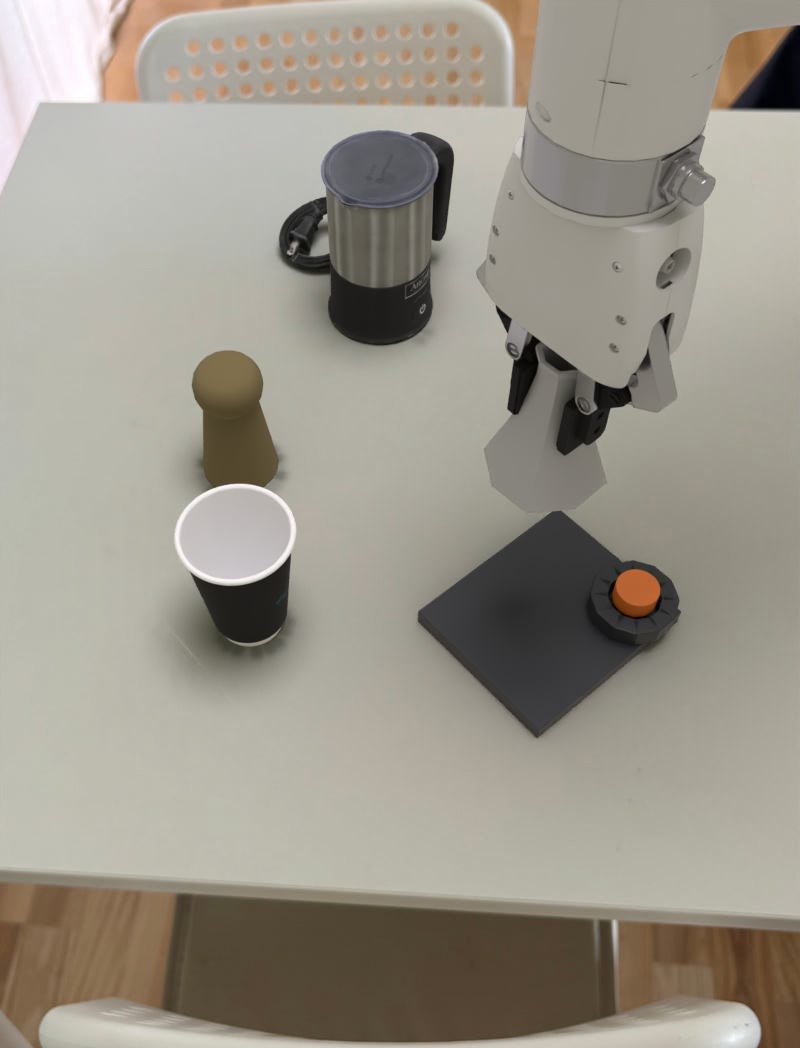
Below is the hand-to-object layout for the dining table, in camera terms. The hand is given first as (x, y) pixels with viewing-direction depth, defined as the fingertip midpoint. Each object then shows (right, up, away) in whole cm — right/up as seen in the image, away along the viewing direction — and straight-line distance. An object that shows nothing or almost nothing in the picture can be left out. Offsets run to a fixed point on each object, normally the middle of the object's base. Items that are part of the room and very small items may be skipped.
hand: (554, 418), depth 63 cm
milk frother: (-11, +17, +36) cm, 41 cm away
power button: (+8, -11, +13) cm, 19 cm away
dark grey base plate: (+3, -13, +15) cm, 20 cm away
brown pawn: (-20, -1, +25) cm, 32 cm away
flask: (0, -3, +4) cm, 5 cm away
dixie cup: (-18, -12, +17) cm, 28 cm away
